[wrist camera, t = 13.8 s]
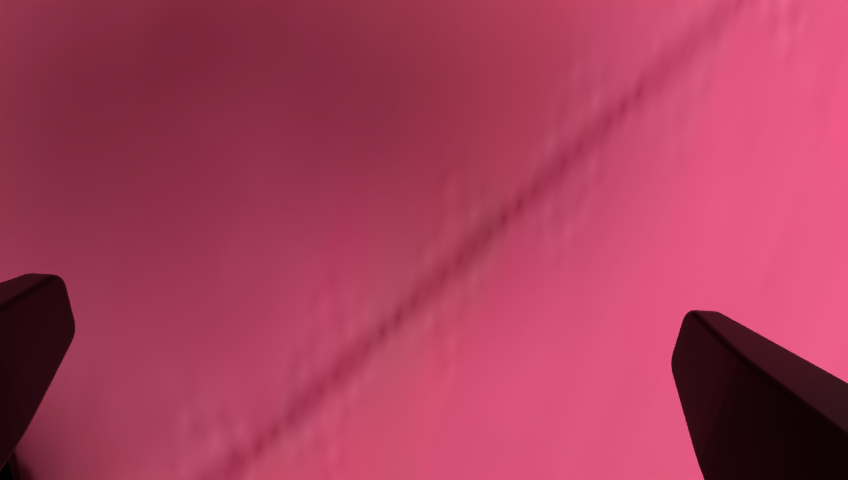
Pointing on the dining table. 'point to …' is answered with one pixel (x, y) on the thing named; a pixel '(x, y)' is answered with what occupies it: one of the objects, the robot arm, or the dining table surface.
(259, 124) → the dining table surface
